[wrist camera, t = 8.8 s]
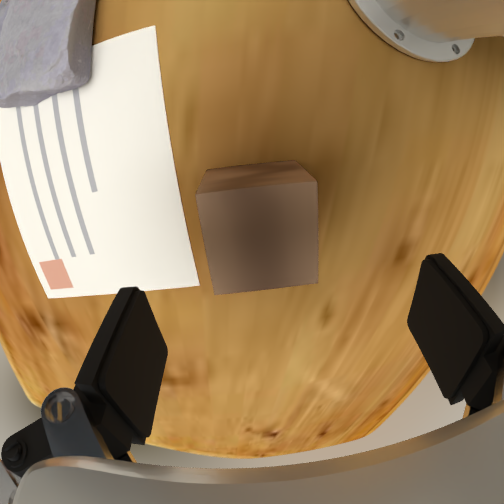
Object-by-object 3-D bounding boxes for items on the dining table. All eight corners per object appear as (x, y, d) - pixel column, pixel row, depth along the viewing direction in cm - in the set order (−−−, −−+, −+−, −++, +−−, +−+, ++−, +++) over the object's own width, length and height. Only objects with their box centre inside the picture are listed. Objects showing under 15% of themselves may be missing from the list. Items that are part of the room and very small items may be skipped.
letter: (155, 26, 14) (154, 25, 14) (199, 284, 24) (199, 285, 23) (-8, 99, 14) (-10, 99, 14) (49, 297, 24) (48, 298, 24)
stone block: (19, 114, 17) (102, 86, 15) (-22, 122, 13) (53, 84, 11) (30, 1, 12) (116, -45, 10) (-6, -5, 8) (79, -66, 6)
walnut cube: (294, 159, 19) (317, 181, 14) (298, 238, 22) (318, 283, 17) (207, 169, 19) (195, 194, 14) (219, 247, 22) (214, 295, 17)
